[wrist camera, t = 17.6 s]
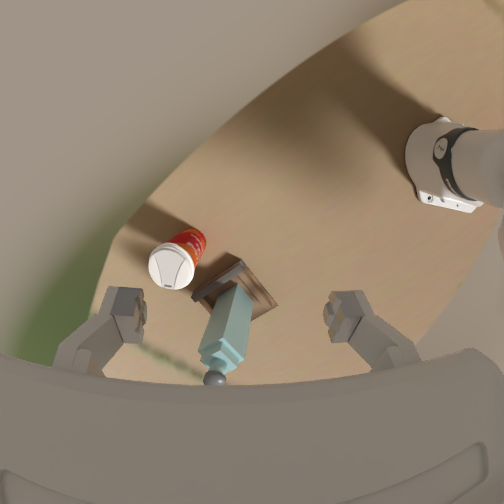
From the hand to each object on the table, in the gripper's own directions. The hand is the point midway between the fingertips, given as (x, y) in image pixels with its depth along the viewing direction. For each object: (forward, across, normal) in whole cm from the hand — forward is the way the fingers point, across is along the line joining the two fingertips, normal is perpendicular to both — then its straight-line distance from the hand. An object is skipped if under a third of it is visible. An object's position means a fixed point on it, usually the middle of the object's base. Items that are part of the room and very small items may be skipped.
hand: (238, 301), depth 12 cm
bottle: (+32, +4, -34) cm, 47 cm away
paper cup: (+38, -5, -24) cm, 45 cm away
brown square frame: (+33, +4, -34) cm, 47 cm away
